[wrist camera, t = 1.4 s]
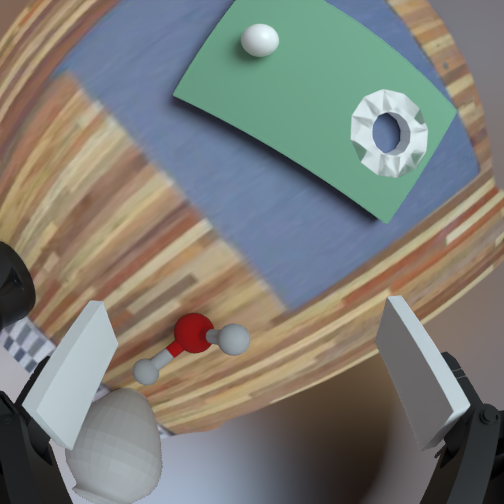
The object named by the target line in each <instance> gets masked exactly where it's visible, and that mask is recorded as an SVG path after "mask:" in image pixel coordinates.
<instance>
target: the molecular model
mask: <svg viewBox="0 0 504 504" xmlns="http://www.w3.org/2000/svg"><path fill="white" fill-rule="evenodd" d="M174 336H175V341H173V342H172V343H171V344H170V345H168V346H167V347H166V348H165V349H163V350H162V351H161V352H160V353H158V354H157V355H156V356H154V357H153V358H152V359H151V360H149V359H141V360H139V361H137V362H136V363H135V364H134V366H133V376H134V378H135V379H136V381H137V382H139V383H140V384H143V385H151V384H153V383H155V382H156V381H157V379H158V377H159V370H160V369H161V368H163V367H164V366H165V365H166V364H168V363H169V362H170V361H171V360H173V359H174V358H175V357H176V356H178V355H179V354H180V353H181V352H183V351H184V350H185V351H187V352H190V353H200V352H203V351H205V350H207V349H208V348H209V347H210V346H211V344H217V345H219V347H220V349H221V350H222V351H223V352H224V353H226V354H228V355H233V356H235V355H240V354H242V353H244V352H245V351H246V350H247V348H248V347H249V344H250V335H249V333H248V331H247V330H246V328H244V327H243V326H242V325H239V324H228V325H226V326H224V327H223V328H222V329H221V330H216V329H214V327H213V325H212V323H211V321H210V320H209V319H208V318H207V317H205V316H203V315H201V314H198V313H190V314H187V315H185V316H183V317H181V318H180V319H179V320H178V322H177V323H176V326H175V329H174Z"/></svg>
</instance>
